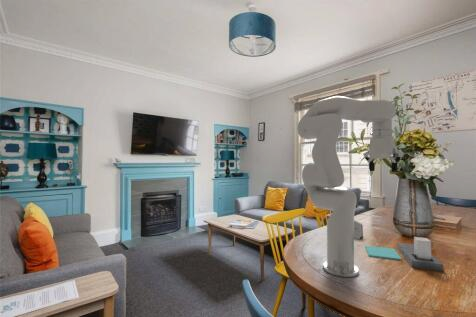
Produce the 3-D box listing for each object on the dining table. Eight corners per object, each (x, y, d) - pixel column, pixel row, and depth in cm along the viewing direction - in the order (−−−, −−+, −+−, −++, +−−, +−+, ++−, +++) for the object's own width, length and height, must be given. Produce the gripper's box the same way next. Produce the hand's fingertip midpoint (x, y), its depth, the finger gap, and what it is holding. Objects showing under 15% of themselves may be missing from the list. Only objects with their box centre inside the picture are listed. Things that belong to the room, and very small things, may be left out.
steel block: (431, 267, 94) (431, 241, 94) (417, 265, 95) (417, 240, 95) (427, 262, 98) (426, 238, 98) (414, 260, 99) (413, 236, 99)
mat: (401, 260, 100) (401, 258, 100) (368, 256, 104) (368, 254, 104) (394, 250, 111) (394, 248, 111) (365, 246, 116) (365, 245, 116)
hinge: (329, 232, 138) (331, 215, 141) (332, 233, 141) (335, 216, 144) (360, 239, 126) (362, 220, 129) (363, 240, 129) (365, 221, 132)
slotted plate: (443, 271, 90) (443, 264, 90) (411, 267, 94) (411, 260, 94) (422, 250, 111) (422, 245, 111) (397, 247, 114) (397, 242, 114)
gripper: (359, 135, 115) (359, 171, 115) (399, 131, 101) (399, 172, 101) (367, 136, 119) (368, 170, 119) (407, 132, 105) (407, 171, 105)
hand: (382, 171), depth 110 cm, fingers open, 9 cm apart
